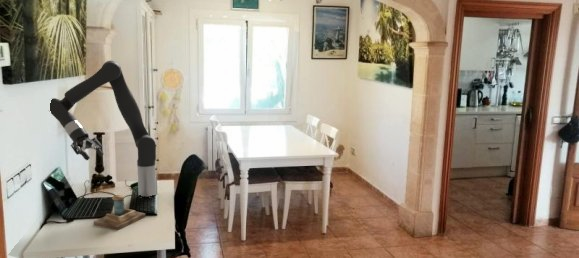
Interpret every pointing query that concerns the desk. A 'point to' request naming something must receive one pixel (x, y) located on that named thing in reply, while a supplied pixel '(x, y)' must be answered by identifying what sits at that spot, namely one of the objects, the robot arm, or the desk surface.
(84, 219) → the desk surface
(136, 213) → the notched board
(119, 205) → the bobbin
